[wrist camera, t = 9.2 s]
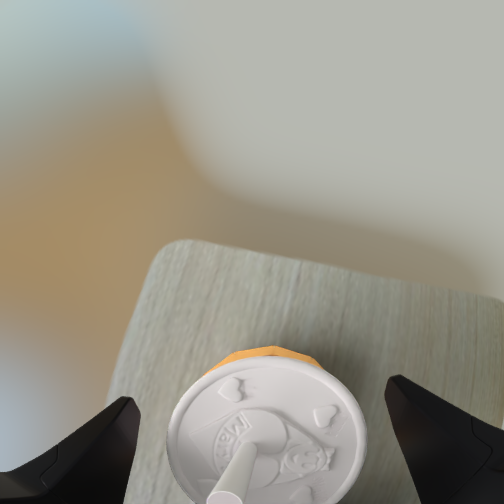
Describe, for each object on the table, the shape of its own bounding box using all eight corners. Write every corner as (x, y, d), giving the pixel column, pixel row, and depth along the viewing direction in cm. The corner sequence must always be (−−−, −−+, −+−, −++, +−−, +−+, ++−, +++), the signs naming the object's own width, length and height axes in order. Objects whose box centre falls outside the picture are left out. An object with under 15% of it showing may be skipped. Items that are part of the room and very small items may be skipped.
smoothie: (231, 361, 17) (123, 284, 5) (328, 378, 16) (470, 338, 4) (210, 449, 14) (76, 547, 2) (308, 467, 13) (379, 603, 1)
